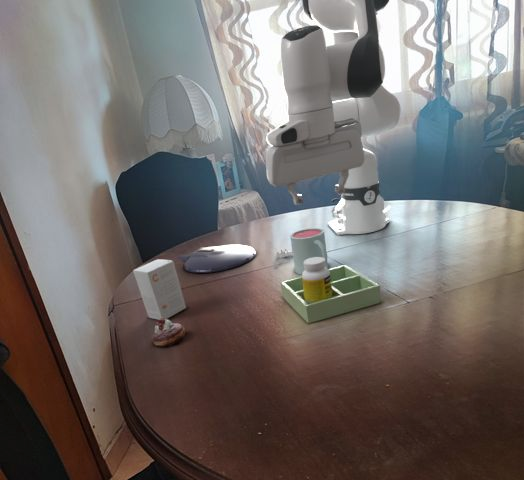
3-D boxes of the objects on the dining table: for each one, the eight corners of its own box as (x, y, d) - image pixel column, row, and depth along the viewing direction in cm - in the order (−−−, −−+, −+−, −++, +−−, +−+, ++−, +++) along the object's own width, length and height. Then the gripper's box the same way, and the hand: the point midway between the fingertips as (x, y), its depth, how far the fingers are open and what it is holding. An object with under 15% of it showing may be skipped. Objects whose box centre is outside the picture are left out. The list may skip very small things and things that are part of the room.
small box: (171, 305, 123) (157, 258, 117) (186, 308, 120) (173, 260, 113) (147, 317, 118) (132, 269, 112) (162, 321, 114) (147, 272, 108)
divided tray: (283, 297, 115) (280, 282, 113) (346, 279, 118) (345, 264, 116) (308, 323, 100) (306, 306, 98) (381, 302, 103) (380, 285, 101)
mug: (289, 269, 132) (284, 234, 127) (317, 260, 135) (313, 226, 130) (312, 281, 121) (308, 244, 116) (343, 271, 123) (339, 234, 119)
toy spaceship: (162, 267, 155) (159, 258, 153) (214, 244, 169) (212, 236, 167) (217, 277, 136) (215, 267, 135) (271, 250, 150) (269, 241, 149)
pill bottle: (332, 312, 101) (327, 264, 96) (304, 314, 102) (298, 266, 97) (334, 300, 106) (329, 254, 101) (307, 302, 108) (301, 257, 102)
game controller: (294, 253, 144) (293, 245, 143) (294, 265, 134) (293, 257, 133) (276, 255, 145) (275, 247, 144) (275, 268, 135) (274, 259, 134)
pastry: (156, 334, 109) (150, 315, 106) (187, 328, 108) (182, 309, 106) (151, 350, 102) (144, 330, 99) (184, 344, 101) (178, 323, 99)
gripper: (353, 115, 94) (358, 185, 101) (258, 136, 91) (269, 207, 98) (367, 116, 89) (371, 189, 96) (267, 138, 86) (278, 212, 93)
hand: (319, 198), depth 97 cm, fingers open, 8 cm apart
